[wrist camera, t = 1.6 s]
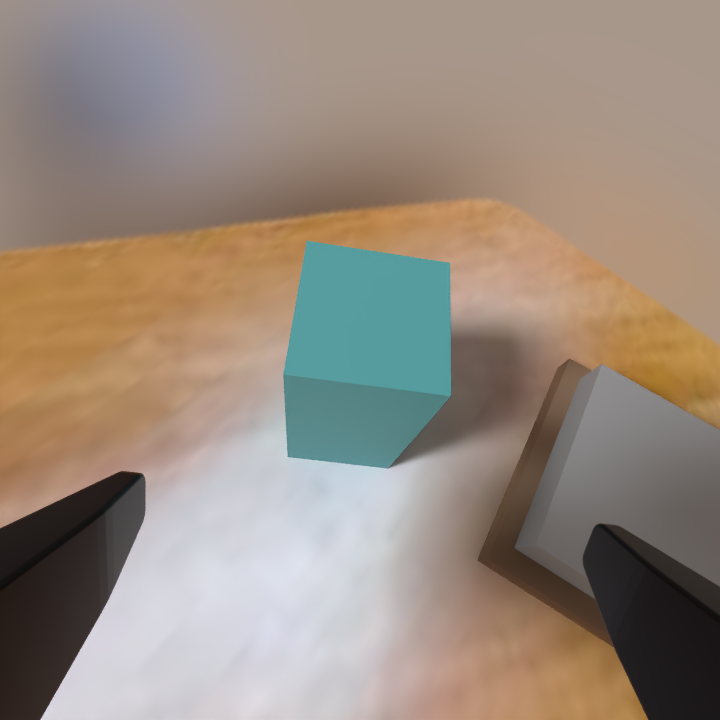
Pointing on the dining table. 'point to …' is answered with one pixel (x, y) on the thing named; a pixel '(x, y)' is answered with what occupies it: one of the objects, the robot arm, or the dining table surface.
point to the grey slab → (626, 480)
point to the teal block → (365, 354)
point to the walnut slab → (516, 506)
